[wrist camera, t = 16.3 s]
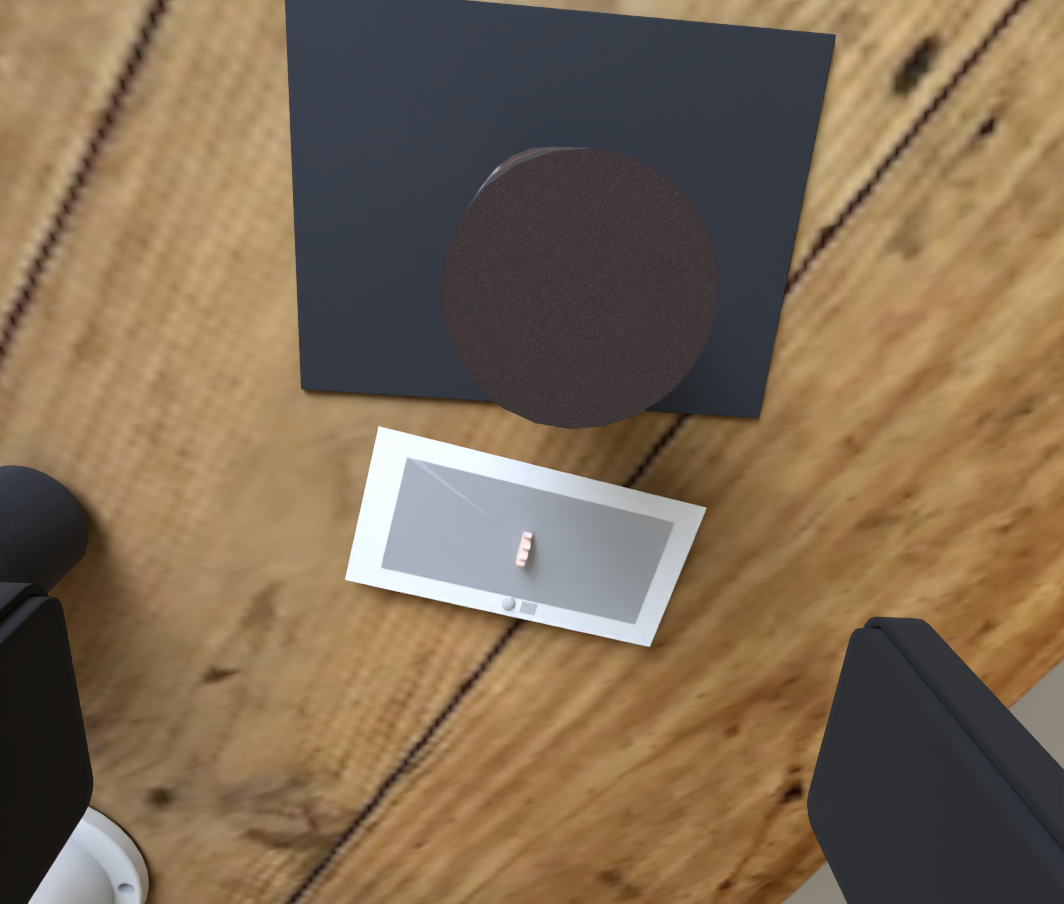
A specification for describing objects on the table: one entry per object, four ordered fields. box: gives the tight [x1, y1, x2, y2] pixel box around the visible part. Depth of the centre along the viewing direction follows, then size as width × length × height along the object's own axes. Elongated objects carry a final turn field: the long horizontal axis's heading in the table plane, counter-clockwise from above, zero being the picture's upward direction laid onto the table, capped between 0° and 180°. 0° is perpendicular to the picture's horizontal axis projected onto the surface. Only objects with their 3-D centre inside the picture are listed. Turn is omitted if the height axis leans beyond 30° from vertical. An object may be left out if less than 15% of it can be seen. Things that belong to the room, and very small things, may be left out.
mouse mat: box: [285, 0, 836, 418], centre depth 30 cm, size 20×15×1 cm
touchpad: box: [345, 427, 706, 647], centre depth 34 cm, size 8×15×2 cm, turn 74°
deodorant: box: [440, 147, 719, 429], centre depth 23 cm, size 6×6×15 cm
